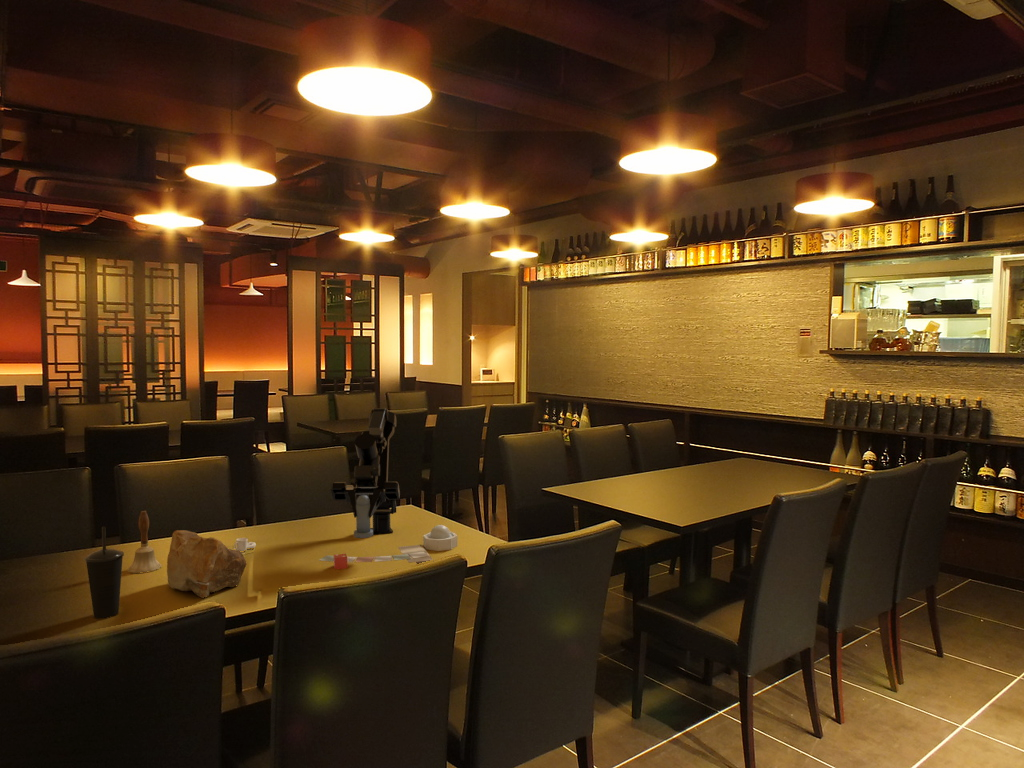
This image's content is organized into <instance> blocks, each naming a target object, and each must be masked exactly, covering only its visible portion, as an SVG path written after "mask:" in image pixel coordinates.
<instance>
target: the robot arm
mask: <svg viewBox="0 0 1024 768" xmlns="http://www.w3.org/2000/svg"><path fill="white" fill-rule="evenodd" d="M395 428H397V416H396V413H395V412H392V411H389V409H388V408H385V407H384V408H383V407H381V408H378V407H377V408H376V407H375V408H373V409H372V408H371V412H370V413H369V418H368V428H367V429H365V430H363V431H362V433H361V434H359V435H358V436H356V438H355V440H354V446H355V449H356V454H357V457H358V459H359V463H358V465H355V466H354V471H353V475H354V476H353V478H354V481H353V482H354V484H355V485H354V484H350V485H349V484H347V482H346V481H334V482H332V483H331V486H330V492H331V496H332V498H333V500H334V501H346V503H350V505H351V508H352V509H351V510H352V513H353V517H354V518H356V504H357V502H356V501H357V498H358V497H357V495H367V496H368V497H369V499H370V512H369V517H370V519H371V518H372V527H370V529H372V530H373V535H379V534H381V535H382V534H390V533H394V530H393V528H391V527H392V526H391V515H393V514H396V513H397V501H396V500H400V495H401V491H400V490H401V489H400V485H399V482H398V481H396V480H395V481H389V480H388V479H389V458H390V457H389V454H390V439H391V438H392V437H393V436H394V434H395Z"/></svg>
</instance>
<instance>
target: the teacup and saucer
mask: <svg viewBox="0 0 1024 768" xmlns="http://www.w3.org/2000/svg"><path fill="white" fill-rule="evenodd" d="M256 543H257V542H254V541H249V542H248V538H247V537H239V538H236V539H235V542H234V545H233V546H234V549H236V550H239V551H244V550H246V551H247V548H254V549H255V547H256V546H257V544H256Z"/></svg>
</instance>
